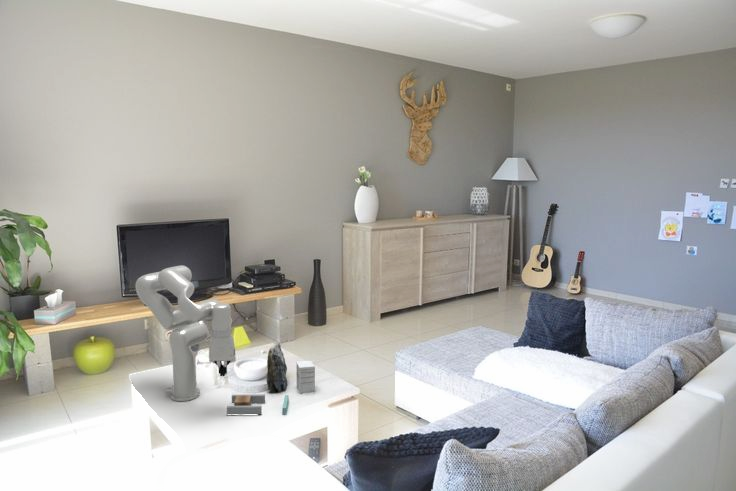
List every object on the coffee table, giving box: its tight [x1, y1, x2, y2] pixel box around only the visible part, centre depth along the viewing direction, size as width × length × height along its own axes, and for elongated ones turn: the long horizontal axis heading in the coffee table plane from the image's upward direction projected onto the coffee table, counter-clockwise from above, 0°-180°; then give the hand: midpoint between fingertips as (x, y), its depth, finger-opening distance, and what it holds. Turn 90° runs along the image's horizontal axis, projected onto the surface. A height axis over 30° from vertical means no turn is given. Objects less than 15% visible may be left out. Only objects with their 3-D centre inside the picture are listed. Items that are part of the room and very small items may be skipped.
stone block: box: [266, 341, 288, 394], centre depth 241 cm, size 18×9×20 cm, turn 3°
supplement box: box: [296, 360, 316, 394], centre depth 238 cm, size 7×7×13 cm
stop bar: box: [281, 394, 290, 416], centre depth 220 cm, size 2×12×3 cm, turn 4°
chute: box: [226, 393, 266, 415], centre depth 219 cm, size 14×12×4 cm
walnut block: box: [233, 396, 252, 406], centre depth 219 cm, size 6×6×4 cm
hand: (222, 374), depth 217 cm, fingers closed
